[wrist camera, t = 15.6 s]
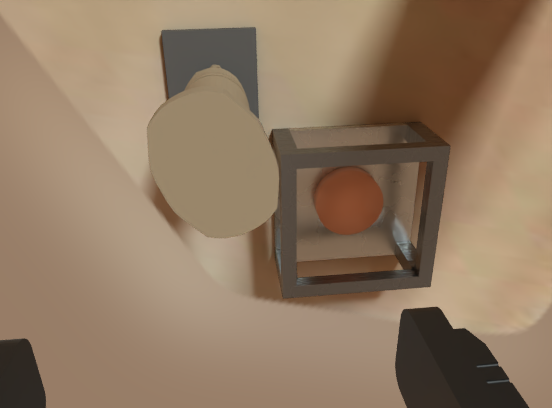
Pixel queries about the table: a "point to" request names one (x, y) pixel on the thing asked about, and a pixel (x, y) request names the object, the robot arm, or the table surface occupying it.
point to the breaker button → (348, 200)
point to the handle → (213, 157)
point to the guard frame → (390, 224)
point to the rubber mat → (211, 57)
